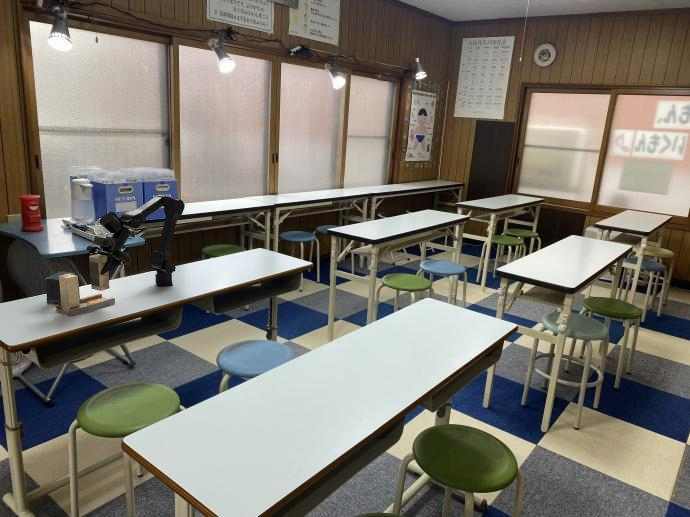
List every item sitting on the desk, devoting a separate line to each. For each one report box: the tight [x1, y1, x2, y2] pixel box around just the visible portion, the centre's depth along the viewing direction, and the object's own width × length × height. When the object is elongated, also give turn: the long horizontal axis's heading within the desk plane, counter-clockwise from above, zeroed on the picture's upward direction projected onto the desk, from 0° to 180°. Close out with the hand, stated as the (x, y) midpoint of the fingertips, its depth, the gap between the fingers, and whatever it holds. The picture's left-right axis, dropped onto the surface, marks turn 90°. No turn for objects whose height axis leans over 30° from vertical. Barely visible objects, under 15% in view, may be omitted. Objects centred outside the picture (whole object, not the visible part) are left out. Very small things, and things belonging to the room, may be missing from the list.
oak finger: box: [88, 254, 110, 292], centre depth 194 cm, size 5×5×13 cm
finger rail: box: [55, 274, 116, 317], centre depth 193 cm, size 18×9×14 cm, turn 151°
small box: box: [44, 270, 76, 305], centre depth 199 cm, size 11×6×10 cm, turn 179°
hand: (96, 273), depth 193 cm, fingers closed on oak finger, 5 cm apart
